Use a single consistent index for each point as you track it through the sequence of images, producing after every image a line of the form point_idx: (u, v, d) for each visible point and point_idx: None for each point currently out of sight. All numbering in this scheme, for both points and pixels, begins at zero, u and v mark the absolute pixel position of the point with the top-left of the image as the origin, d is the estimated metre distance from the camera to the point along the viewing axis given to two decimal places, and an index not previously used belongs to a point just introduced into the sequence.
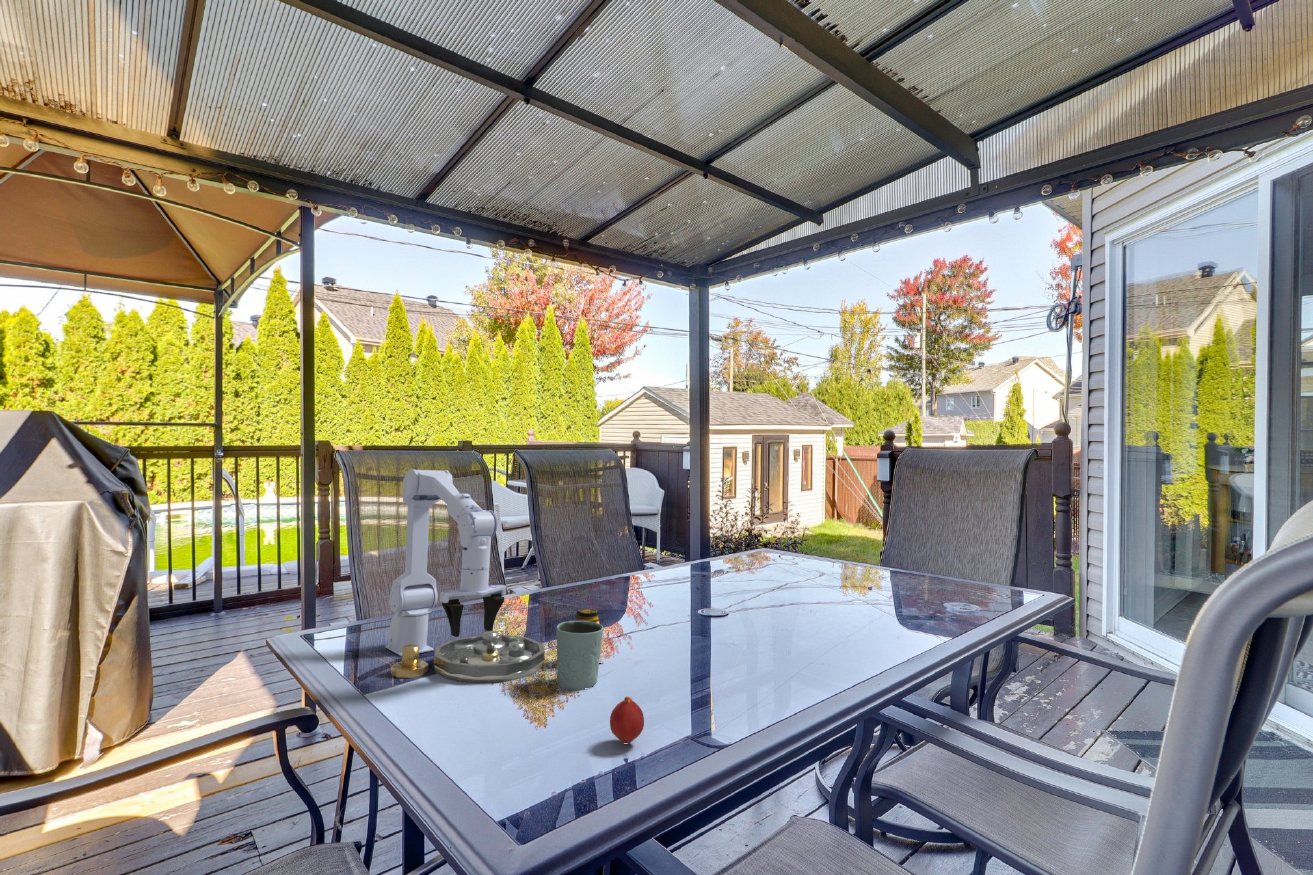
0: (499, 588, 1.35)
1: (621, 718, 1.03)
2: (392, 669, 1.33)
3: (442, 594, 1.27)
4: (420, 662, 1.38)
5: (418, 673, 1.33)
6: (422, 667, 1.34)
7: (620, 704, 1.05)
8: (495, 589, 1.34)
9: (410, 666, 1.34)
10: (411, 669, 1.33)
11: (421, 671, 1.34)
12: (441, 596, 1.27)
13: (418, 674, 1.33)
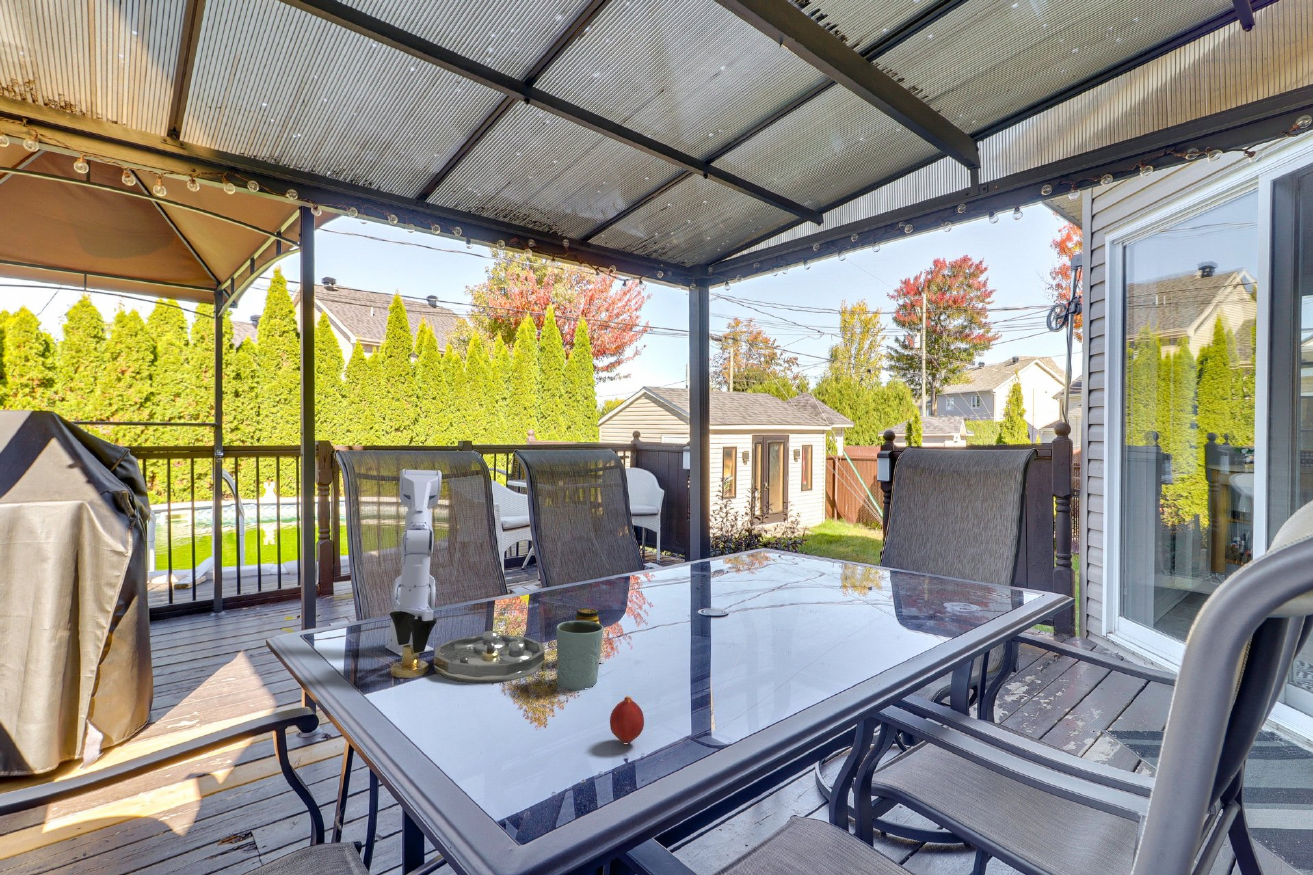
0: (418, 611, 1.31)
1: (621, 718, 1.03)
2: (392, 669, 1.33)
3: None
4: (420, 662, 1.38)
5: (418, 673, 1.33)
6: (422, 667, 1.34)
7: (620, 704, 1.05)
8: (413, 610, 1.32)
9: (410, 666, 1.34)
10: (411, 669, 1.33)
11: (421, 671, 1.34)
12: None
13: (418, 674, 1.33)
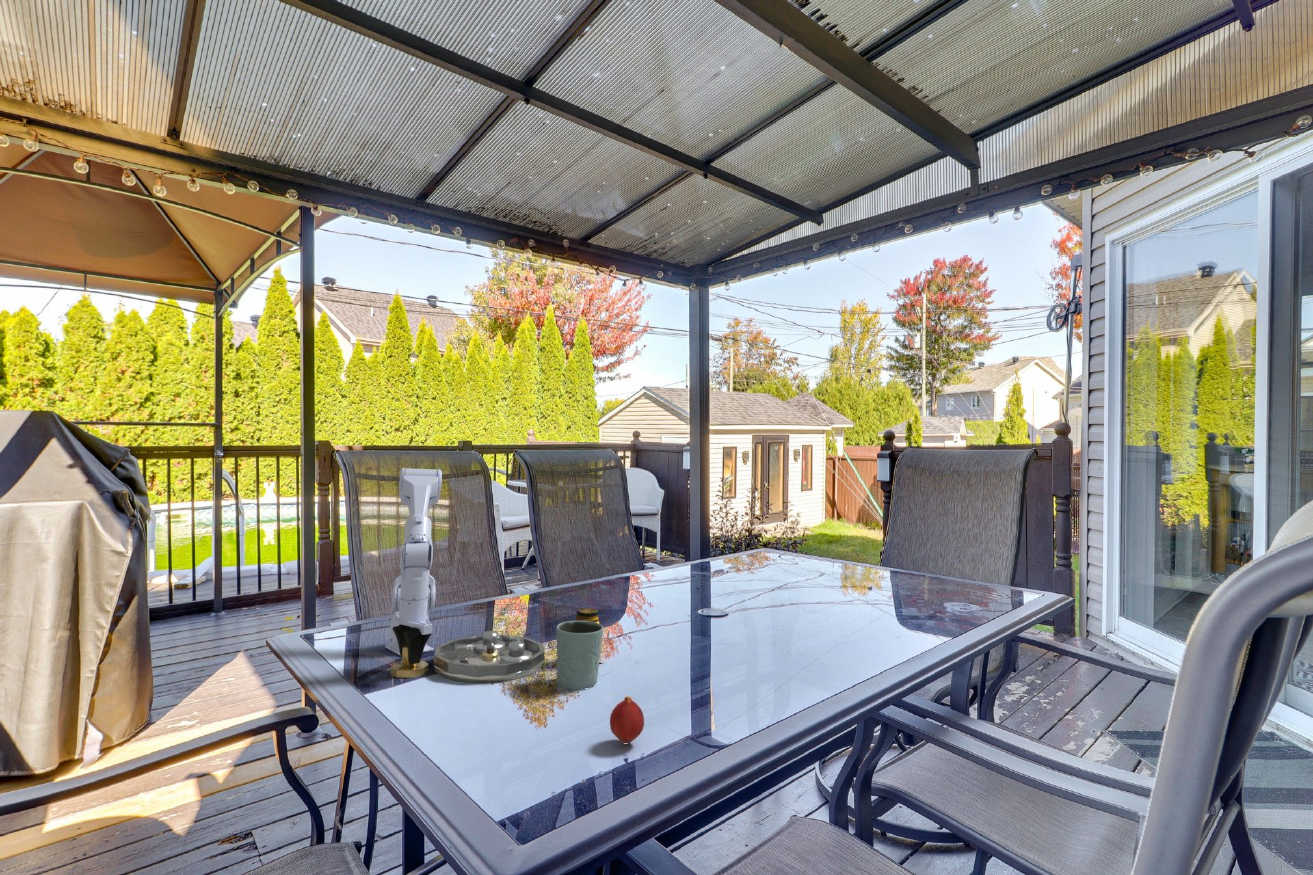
0: (417, 625, 1.31)
1: (621, 718, 1.03)
2: (392, 669, 1.33)
3: None
4: (420, 662, 1.38)
5: (418, 673, 1.33)
6: (422, 667, 1.34)
7: (620, 704, 1.05)
8: (412, 624, 1.32)
9: (410, 666, 1.34)
10: (411, 669, 1.33)
11: (421, 671, 1.34)
12: None
13: (418, 674, 1.33)
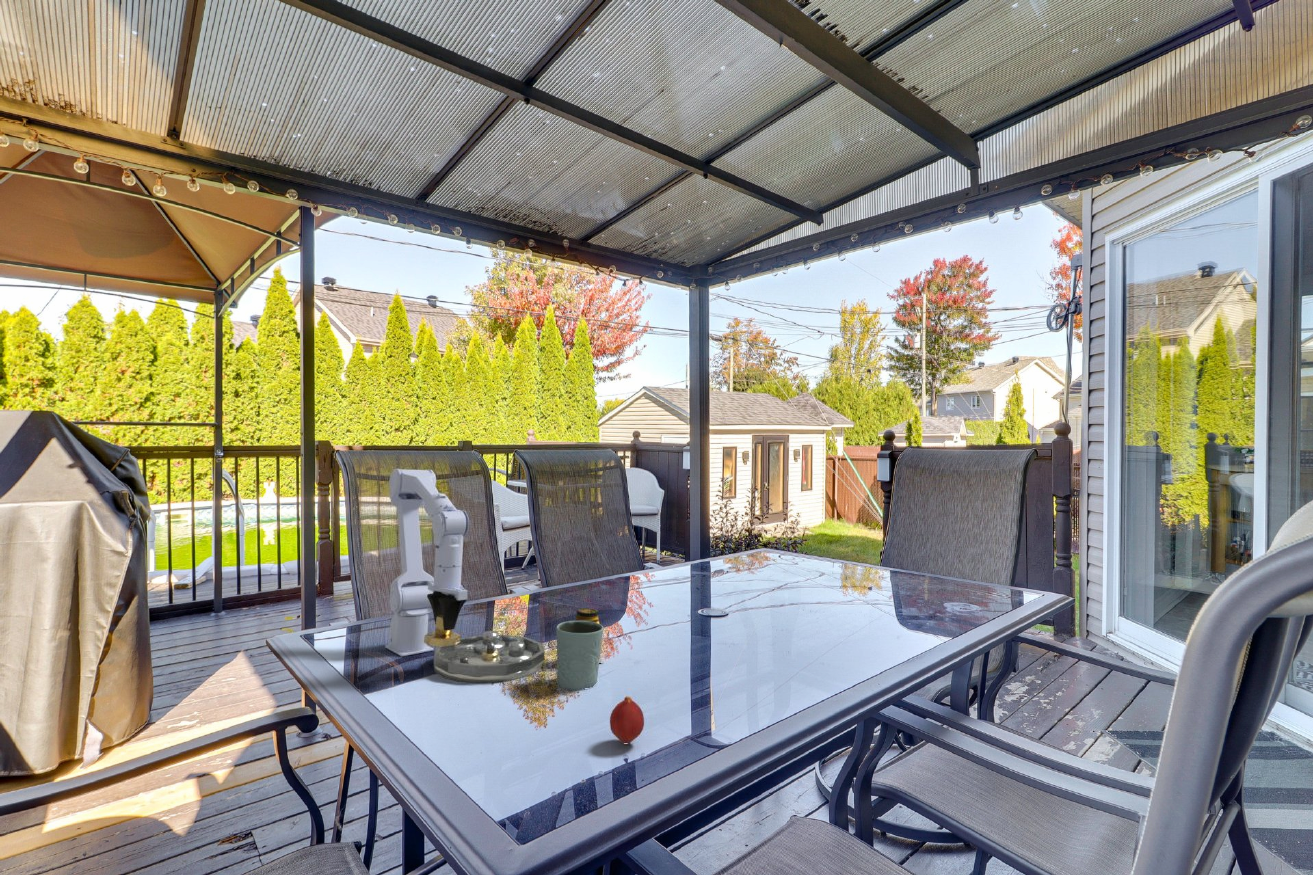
0: (453, 591, 1.33)
1: (621, 718, 1.03)
2: (425, 637, 1.35)
3: None
4: (453, 633, 1.39)
5: (451, 643, 1.35)
6: (454, 637, 1.36)
7: (620, 704, 1.05)
8: (448, 590, 1.34)
9: (443, 635, 1.35)
10: (443, 638, 1.34)
11: (453, 641, 1.35)
12: None
13: (450, 644, 1.34)
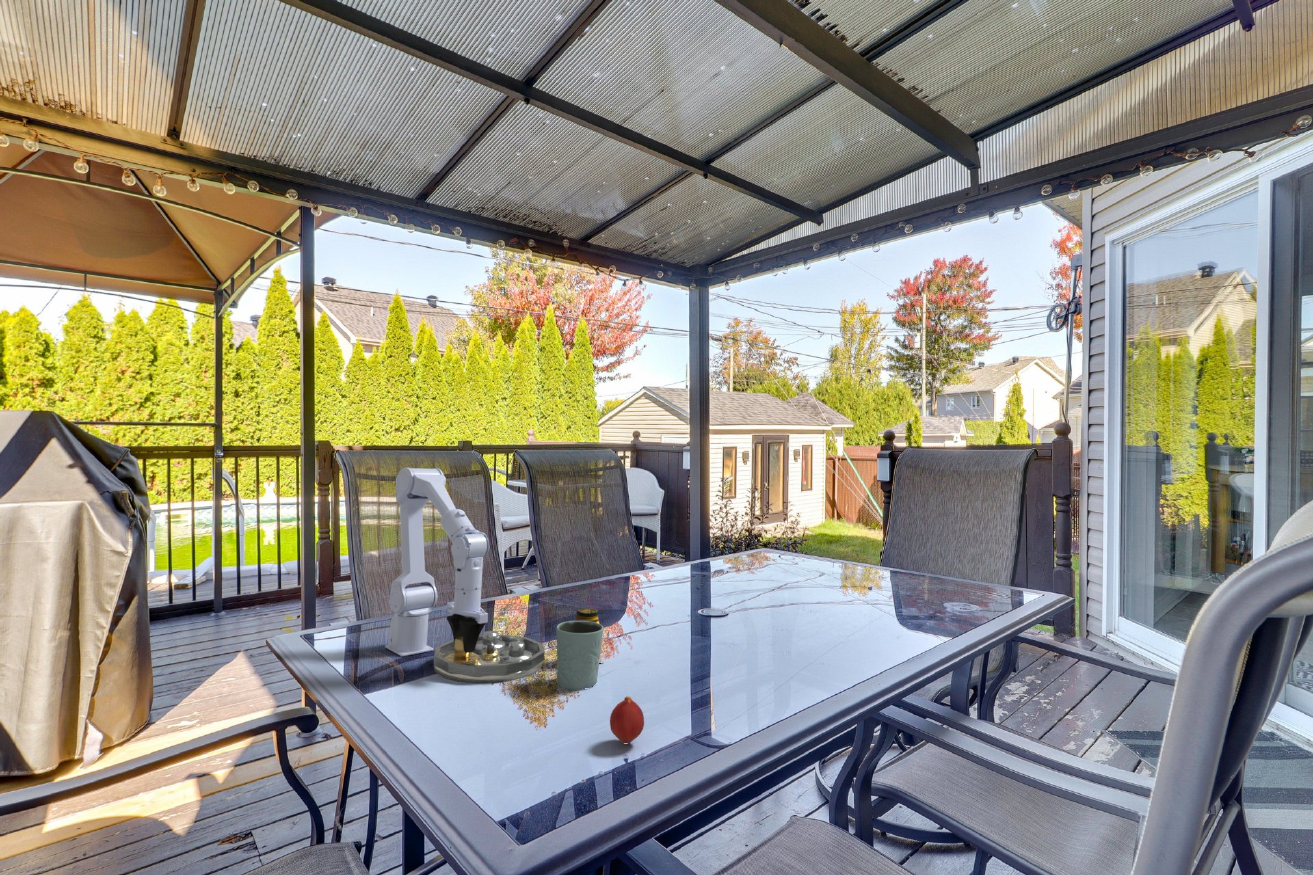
0: (473, 614, 1.34)
1: (621, 718, 1.03)
2: None
3: None
4: (472, 654, 1.40)
5: None
6: (474, 659, 1.36)
7: (620, 704, 1.05)
8: (468, 613, 1.34)
9: (462, 658, 1.36)
10: (463, 660, 1.35)
11: (473, 663, 1.36)
12: None
13: None
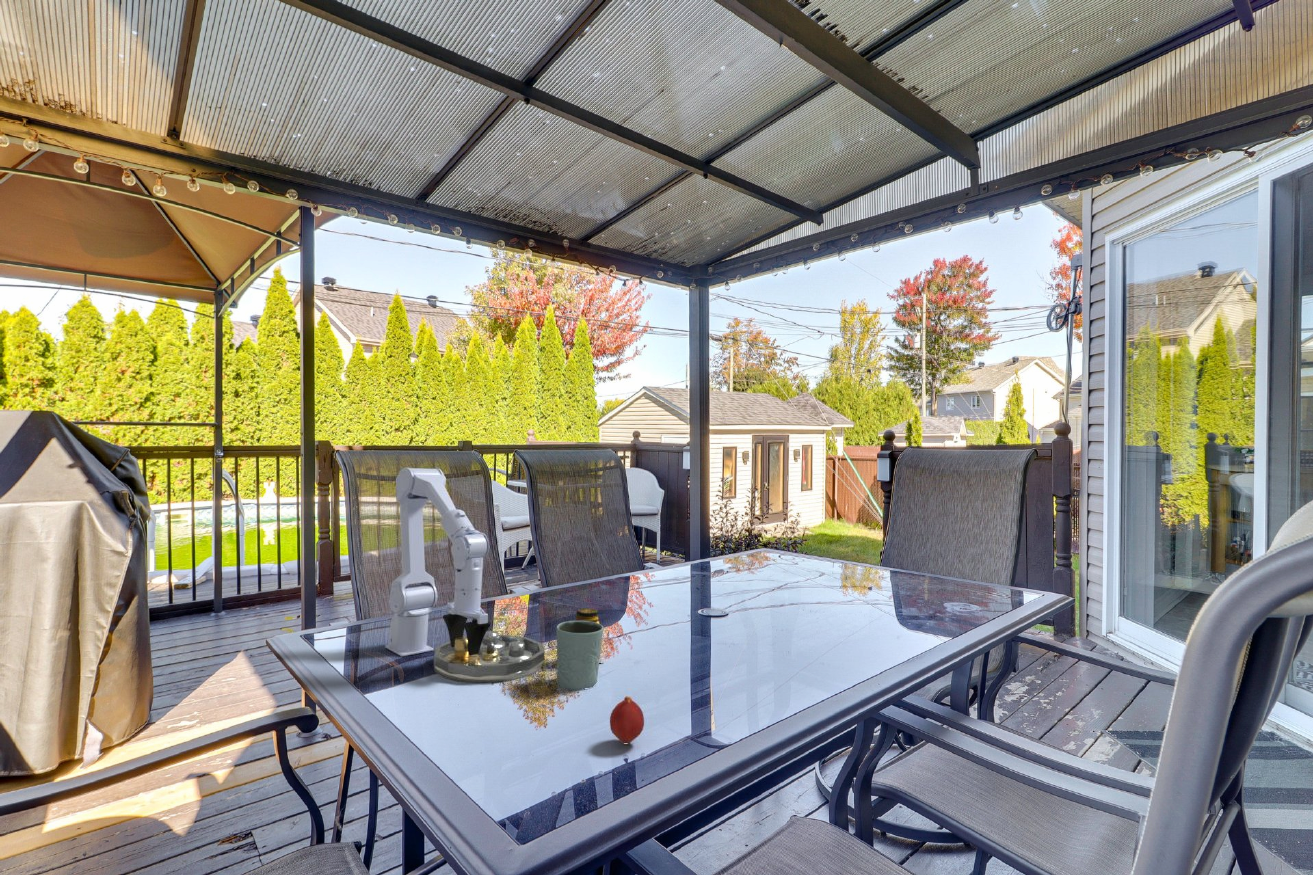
0: (473, 615, 1.34)
1: (621, 718, 1.03)
2: None
3: None
4: None
5: None
6: (474, 659, 1.36)
7: (620, 704, 1.05)
8: (468, 614, 1.34)
9: (462, 658, 1.36)
10: (463, 660, 1.35)
11: (473, 663, 1.36)
12: None
13: None
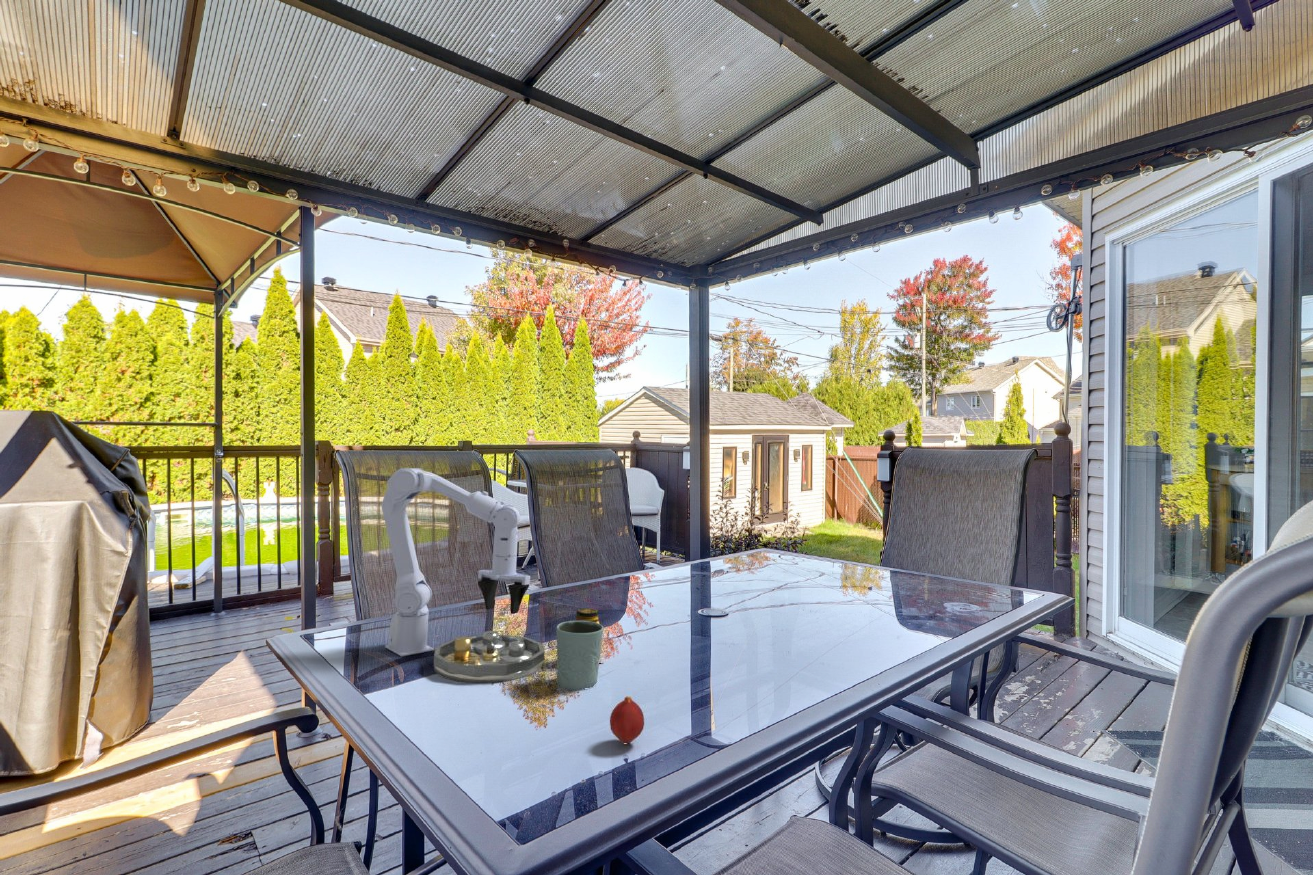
0: (518, 577, 1.50)
1: (621, 718, 1.03)
2: None
3: None
4: (472, 654, 1.40)
5: None
6: (474, 659, 1.36)
7: (620, 704, 1.05)
8: (512, 577, 1.50)
9: (462, 658, 1.36)
10: (463, 660, 1.35)
11: (473, 663, 1.36)
12: None
13: None
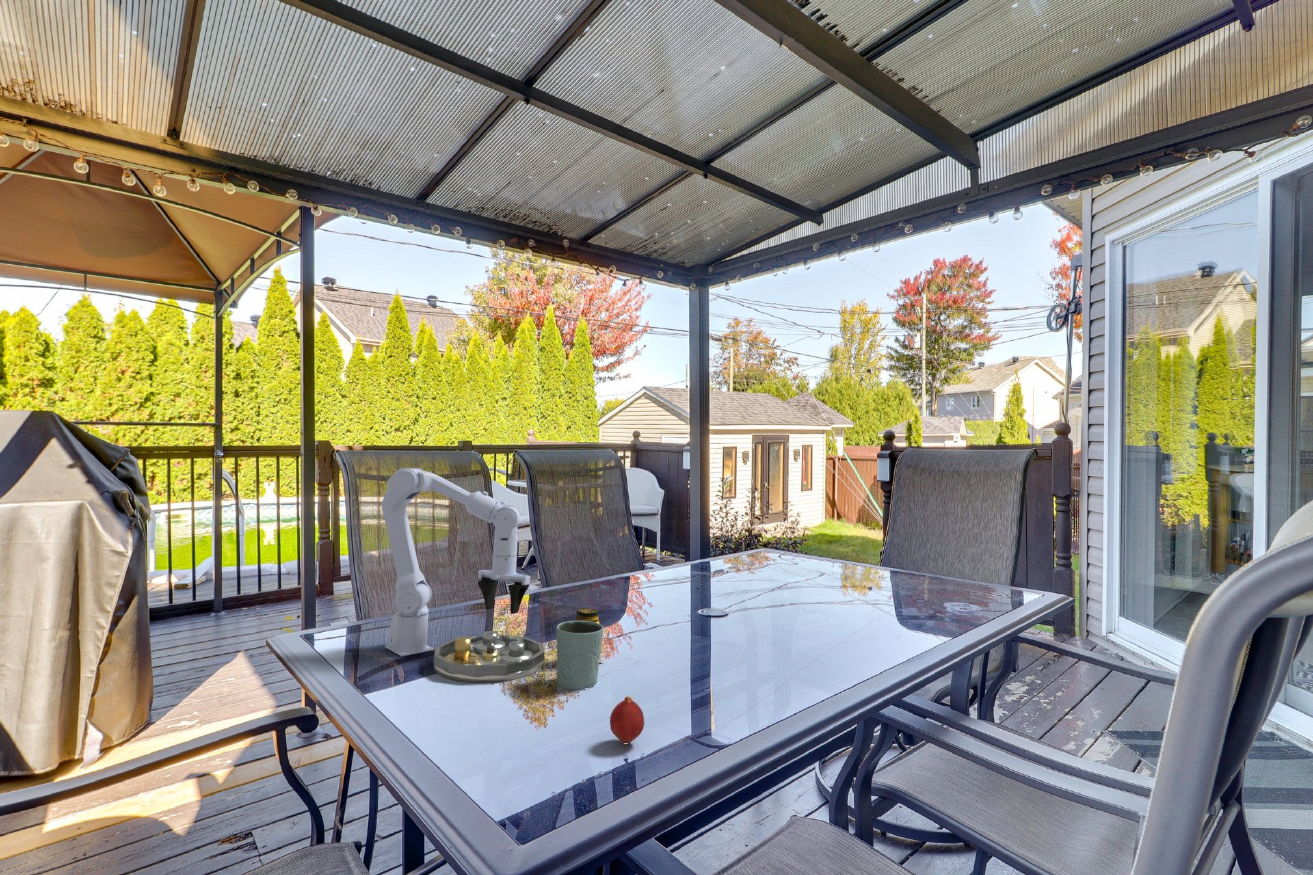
0: (518, 577, 1.50)
1: (621, 718, 1.03)
2: None
3: None
4: (472, 654, 1.40)
5: None
6: (474, 659, 1.36)
7: (620, 704, 1.05)
8: (512, 577, 1.50)
9: (462, 658, 1.36)
10: (463, 660, 1.35)
11: (473, 663, 1.36)
12: None
13: None
